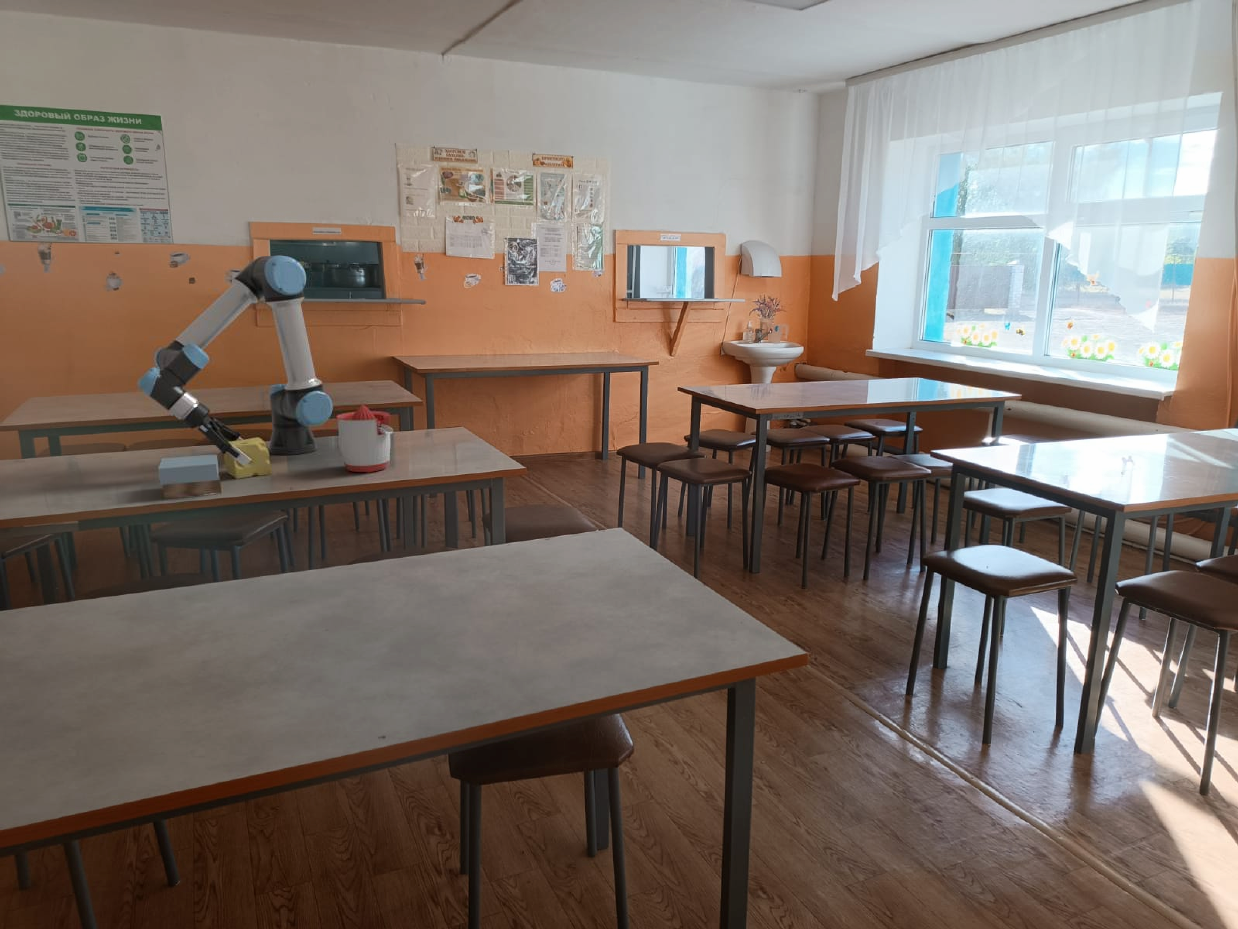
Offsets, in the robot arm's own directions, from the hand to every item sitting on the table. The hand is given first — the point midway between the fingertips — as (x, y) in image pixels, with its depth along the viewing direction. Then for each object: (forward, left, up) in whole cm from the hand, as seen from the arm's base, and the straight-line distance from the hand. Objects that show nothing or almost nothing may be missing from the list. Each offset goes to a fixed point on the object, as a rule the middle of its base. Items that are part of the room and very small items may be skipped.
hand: (251, 458), depth 255 cm
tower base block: (+16, +15, -5) cm, 23 cm away
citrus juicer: (-33, +10, -5) cm, 34 cm away
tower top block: (+17, +15, -1) cm, 22 cm away
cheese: (+1, 0, -5) cm, 5 cm away
